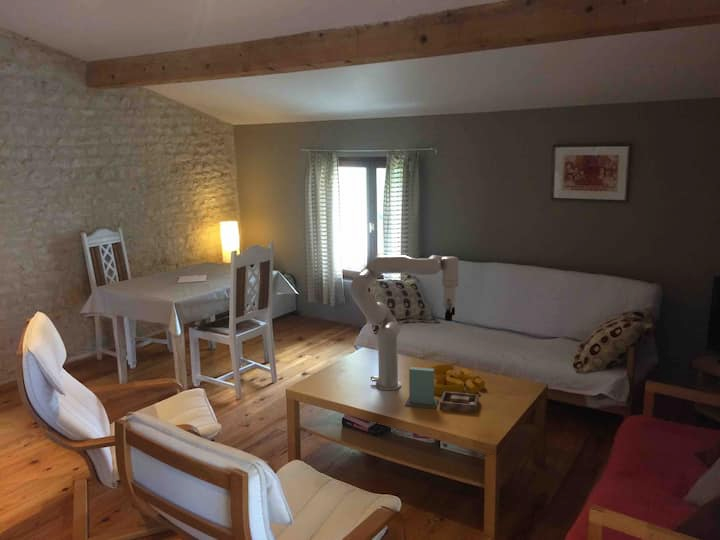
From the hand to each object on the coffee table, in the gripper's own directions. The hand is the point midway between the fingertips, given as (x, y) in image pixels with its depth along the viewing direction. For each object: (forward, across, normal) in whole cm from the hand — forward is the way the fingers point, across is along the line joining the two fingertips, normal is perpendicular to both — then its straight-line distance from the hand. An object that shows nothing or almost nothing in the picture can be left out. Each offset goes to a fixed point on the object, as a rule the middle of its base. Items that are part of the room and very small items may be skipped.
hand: (449, 317), depth 290 cm
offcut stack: (+37, +19, +8) cm, 42 cm away
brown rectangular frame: (+36, +18, +7) cm, 41 cm away
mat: (+36, +19, -10) cm, 42 cm away
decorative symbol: (+37, -8, +1) cm, 38 cm away
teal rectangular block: (+36, +19, -10) cm, 42 cm away
